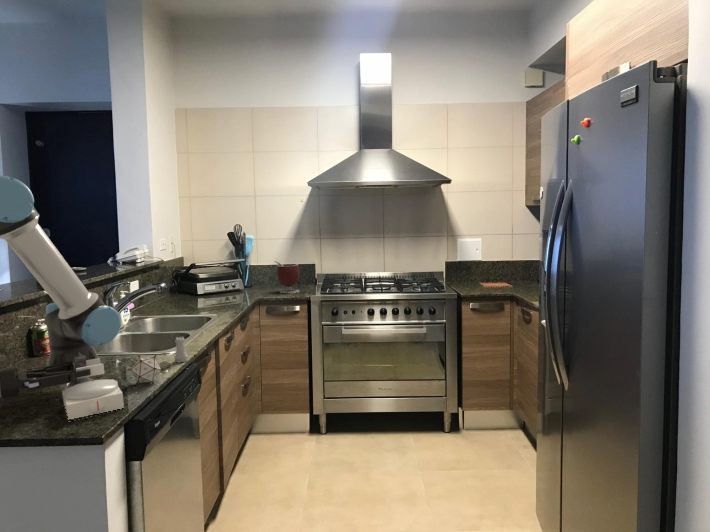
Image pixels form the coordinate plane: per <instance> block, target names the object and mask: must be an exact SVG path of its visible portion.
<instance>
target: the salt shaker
mask: <svg viewBox="0 0 710 532" xmlns="http://www.w3.org/2000/svg"><path fill="white" fill-rule="evenodd" d="M74 366H75V368H74V369H73V370H76V368H81V367H86V366H87V365H86V357H85V356H84V355H81V354H80V352H78V355H77V356H76V357H75V358H74ZM94 380H95V378H92V377H91V378H90V377H85V378H80V379H77V382H76V383H74V382H73V383H69V386H70V387H72V386H74V385H77V384H80V383H84V382H88V381H94Z"/></svg>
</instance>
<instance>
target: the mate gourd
mask: <svg viewBox="0 0 710 532" xmlns="http://www.w3.org/2000/svg"><path fill="white" fill-rule="evenodd" d="M274 263H276V264H277V268H276V269H277V270H276V276H277V280H278V282H279V283H280V285H282V286H285V287H286V289H284V290H280V291H279V294H282V293H290V294H296V292H297V293H300V290H299V289H293V286H294V285H296V284H298V282H299V280H300V275H301V274H300V272H301V271H300V267H299V264H298V263H286V264H282V263H281V262H279V261H276V260H274Z"/></svg>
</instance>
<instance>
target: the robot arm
mask: <svg viewBox="0 0 710 532" xmlns="http://www.w3.org/2000/svg"><path fill="white" fill-rule="evenodd" d="M34 205H35V198H34V194H33V193H32V190H31V189H30V188H29V186H27V185H26V184H25V183H24V182H22V181H21V180H19V179H17V178H14V177H11V176H8V175H0V239H1V240H2V239H3V240H5V242H6V243H7V245H8V246H9V247H10V248H11V249H12V250H13V251H14V253H15V254H16V255H17V257H18V258H19V259H20V260H21V262H22V263H23V264H24V265H25V267H26V268H27V269H28V270H29V272H30V273H31V274H32V276H33V277H34V279H36V281H37V282H38V283H39V284H40V286H41V287H42V288H43V289H44V291H45V292H46V293H47V294H48V296H49V297H50V298H51V300H52V301H53V303H51V302H50V303H49V304H47V305H46V307H45V318H46V327H47V336H48V343H49V345H48V346H49V356H48V359H47V363H46V365H44V366H40V367H33V368H28V369H27V370H26V372H23V373H18V368H17V367H15V366H14V367H13V366H12V367H7V368H1V369H0V398H1V399H2V400H8V399H12V398H17V397H19V396H20V395H21V394H20V393H21V392H20V391H21V390H20V389H28V390H29V391H31V392H32V391H35V390H39V389H43V388H48V387H53V386H54V387H55V386H59V385H64V384H65V385H66V384H70V383H73V382H74V383H76V382H77V379H80V378H85V377H89V378H90V377H95V376H100V375H105V365H104V363H102V362H101V358H100V357H99V356H98V354H97V351H96V349H95V346H97V347H99V346H100V347H102V346H105V345H108V344H109V343H111V342H112V341H114V340H115V338H116V337H117V336H118V334H120V333H119V332H121V331H120V329H121V326H122V317H121V314H120V313H119V312H118V311H117V309H115V308H114V307H112V306H109V305H106V304H105V303H104V302H103V300H102V298H101V297H100V296H99V295H98V293H97V292H91V291H89V290H87V288H86V286H85V285H84V283H82V281H81V280H80V278H79V277H78V276H77V274H76V273H75V272H74V270H73V269H72V267H71V266H70V265H69V263H68V262H67V260H65V258H64V256H63V255H62V254H61V253H60V251H59V250H58V248H57V247H56V246H55V244H53V242H52V241H51V239H50V238H49V237H48V234H46V232H45V231H44V230H43V228H42V227H41V225H40V224H39V218H40V214H39V212H38V211H37V209H36V208H35V206H34ZM78 352H80V354H81V355H84V356H85V357H86V365H87V366H86V367H81V368H76V370H73V369H74V368H75V366H74V358H75V357H76V356H77V355H78Z"/></svg>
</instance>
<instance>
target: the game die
mask: <svg viewBox="0 0 710 532" xmlns="http://www.w3.org/2000/svg"><path fill="white" fill-rule="evenodd" d="M137 356H138V359H137V360H136V362H134V364H133V365H132V367H131V368H128V369H126V370H127V371H131V374H132V375H133V377H134V379H135V381H136V383H135V385H136V386H137V385H139V383H151V384H152V385H155V383H154V381H155V379H156V378H157V377H158V376H159V374H160V372H161V371H162V372H163V371H165V369H164V368H162V367H161V365H160V364H159V362H158V361H157V359H156V357H157V354H154V355H153V356H145V357H143V356H142V357H141V356H140V355H139V354H138V355H137Z"/></svg>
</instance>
